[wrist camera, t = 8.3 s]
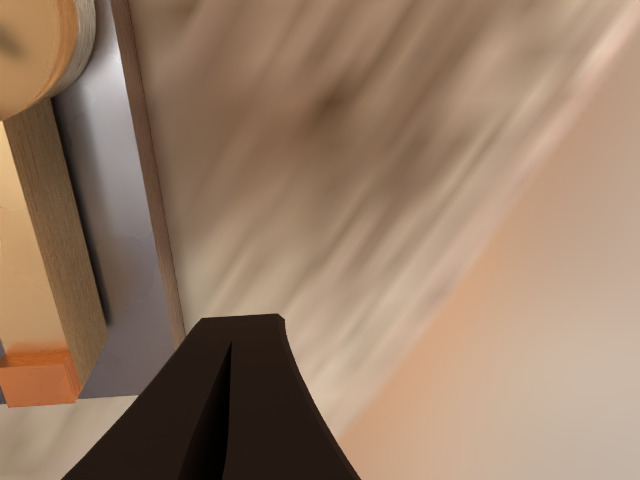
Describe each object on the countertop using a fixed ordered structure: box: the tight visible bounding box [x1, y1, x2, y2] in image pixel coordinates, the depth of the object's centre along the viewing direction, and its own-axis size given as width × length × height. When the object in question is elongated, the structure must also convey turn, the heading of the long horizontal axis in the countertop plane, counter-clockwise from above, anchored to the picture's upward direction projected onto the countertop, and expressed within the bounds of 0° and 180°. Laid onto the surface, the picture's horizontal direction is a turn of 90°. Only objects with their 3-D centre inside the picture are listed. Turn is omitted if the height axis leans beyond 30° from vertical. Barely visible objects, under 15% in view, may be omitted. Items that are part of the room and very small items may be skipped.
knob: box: [0, 0, 109, 408], centre depth 12 cm, size 11×4×3 cm, turn 1°
